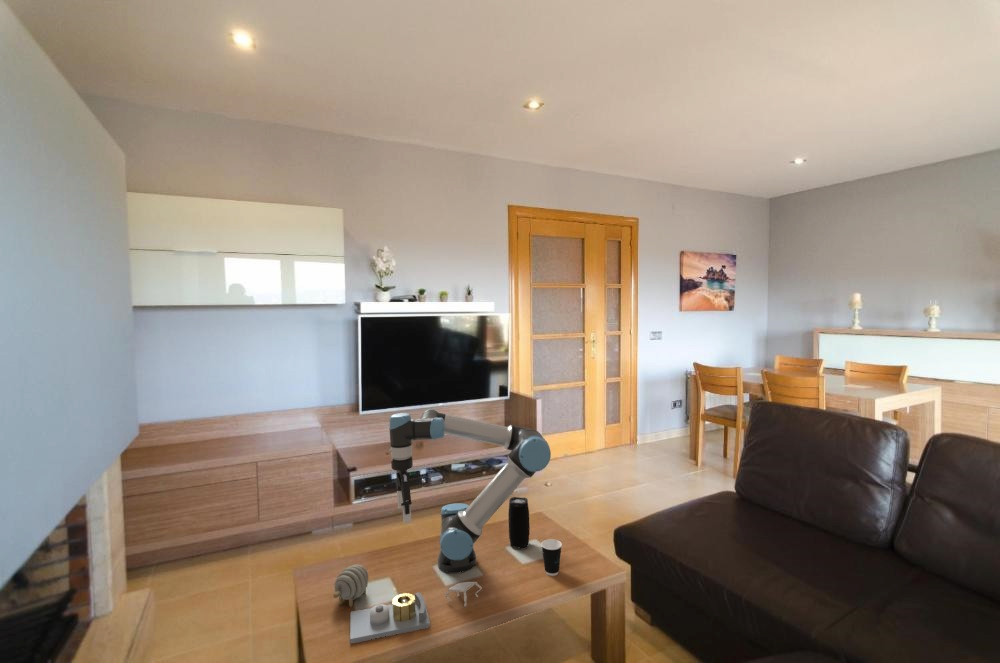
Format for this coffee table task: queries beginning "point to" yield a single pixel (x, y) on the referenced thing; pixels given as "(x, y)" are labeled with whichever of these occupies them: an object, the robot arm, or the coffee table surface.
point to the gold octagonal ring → (403, 607)
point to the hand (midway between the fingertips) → (404, 515)
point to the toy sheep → (351, 583)
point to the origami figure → (463, 589)
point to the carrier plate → (382, 630)
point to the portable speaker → (519, 522)
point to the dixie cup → (551, 556)
